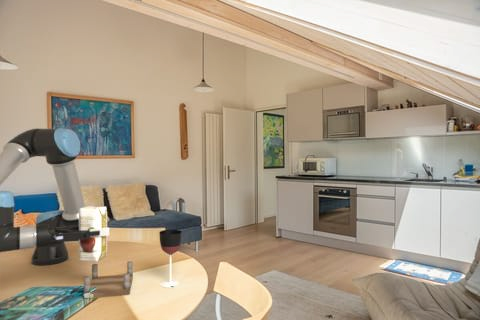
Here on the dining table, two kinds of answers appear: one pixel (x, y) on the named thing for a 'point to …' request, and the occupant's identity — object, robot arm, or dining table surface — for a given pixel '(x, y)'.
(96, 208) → the juice carton
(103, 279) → the peg plinth
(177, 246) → the wineglass
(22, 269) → the dining table surface
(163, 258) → the dining table surface
